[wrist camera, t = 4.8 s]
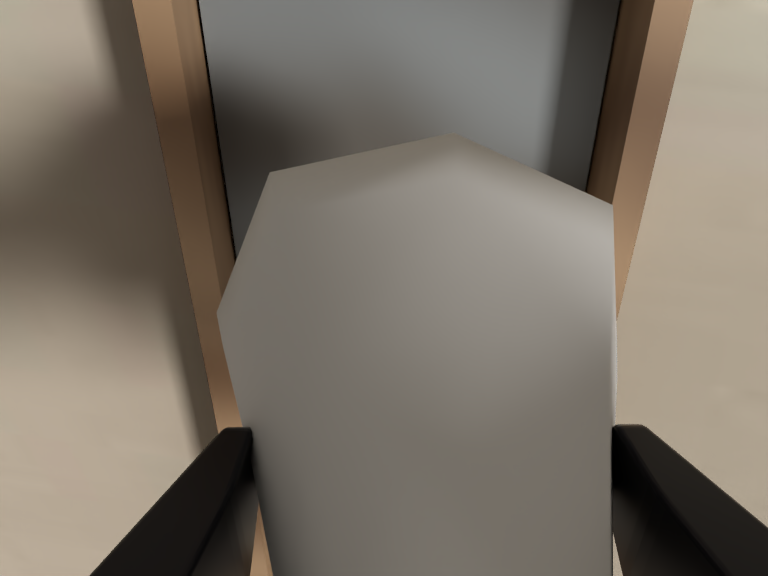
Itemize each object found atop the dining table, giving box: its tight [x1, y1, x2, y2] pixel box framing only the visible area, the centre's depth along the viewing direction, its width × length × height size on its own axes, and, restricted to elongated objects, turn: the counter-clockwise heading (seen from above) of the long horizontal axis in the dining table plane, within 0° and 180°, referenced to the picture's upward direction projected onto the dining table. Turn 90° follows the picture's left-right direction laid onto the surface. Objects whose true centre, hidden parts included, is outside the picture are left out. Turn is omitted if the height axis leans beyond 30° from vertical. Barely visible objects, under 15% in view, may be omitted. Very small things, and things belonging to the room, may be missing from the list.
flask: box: [217, 133, 617, 576], centre depth 7 cm, size 7×7×10 cm
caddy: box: [132, 0, 693, 576], centre depth 19 cm, size 23×12×2 cm, turn 0°
